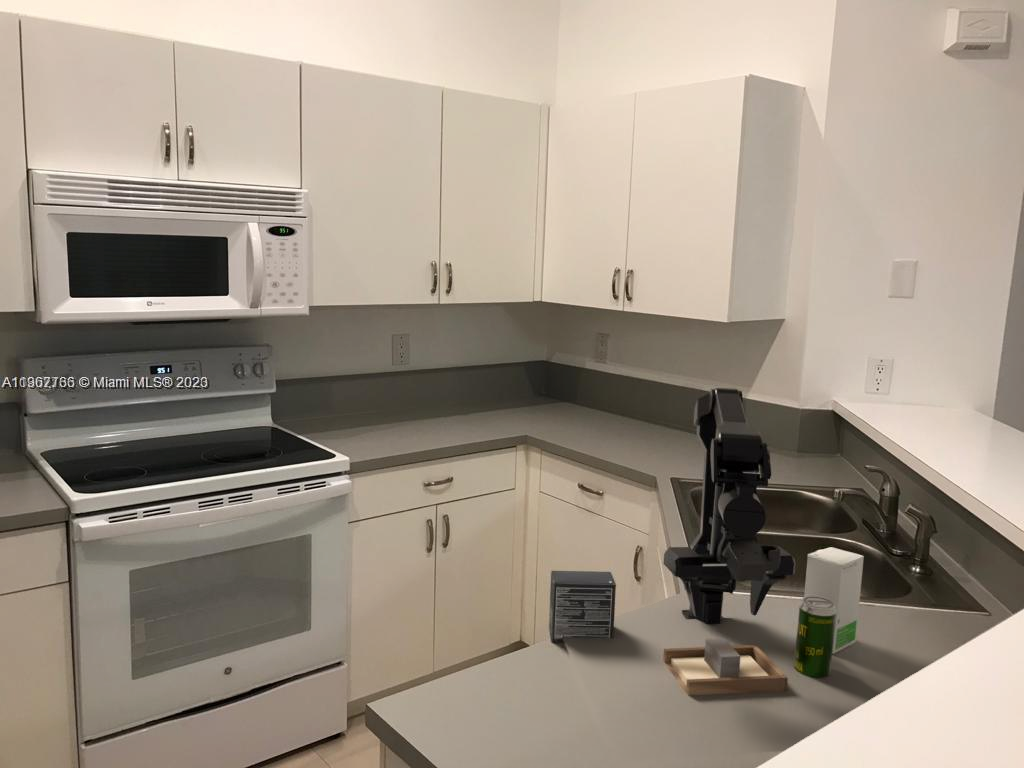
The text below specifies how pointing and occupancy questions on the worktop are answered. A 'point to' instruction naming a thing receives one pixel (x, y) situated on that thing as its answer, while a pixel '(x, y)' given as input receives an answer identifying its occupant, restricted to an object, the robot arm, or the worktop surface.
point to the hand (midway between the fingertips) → (724, 615)
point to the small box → (581, 605)
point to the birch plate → (706, 672)
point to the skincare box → (837, 589)
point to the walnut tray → (731, 684)
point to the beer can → (815, 637)
